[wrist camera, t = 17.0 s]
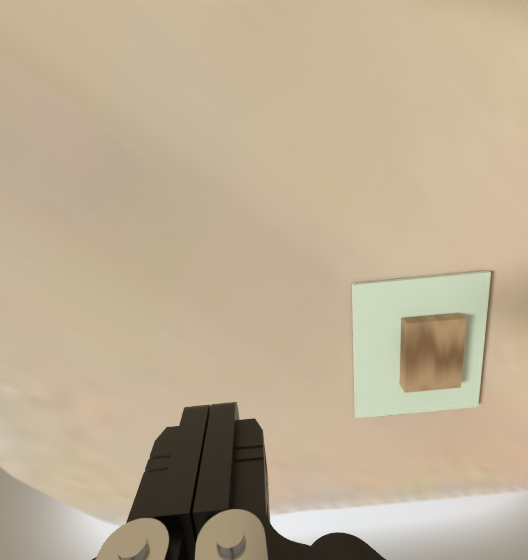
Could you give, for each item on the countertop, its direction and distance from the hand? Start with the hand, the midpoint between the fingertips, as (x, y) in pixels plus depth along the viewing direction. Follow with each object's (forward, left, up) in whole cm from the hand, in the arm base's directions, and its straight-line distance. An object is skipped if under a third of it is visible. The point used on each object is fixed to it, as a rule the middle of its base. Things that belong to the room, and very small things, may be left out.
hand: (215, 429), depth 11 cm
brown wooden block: (+13, +16, -26) cm, 33 cm away
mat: (+13, +18, -27) cm, 35 cm away
